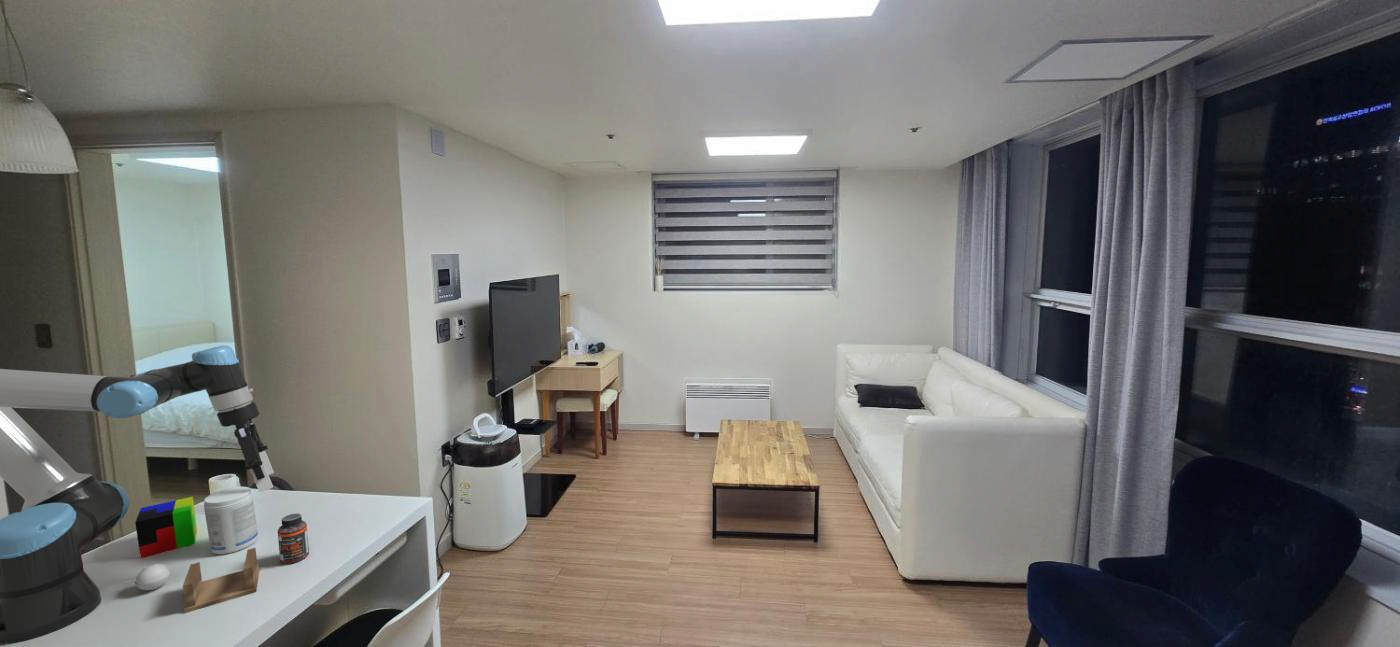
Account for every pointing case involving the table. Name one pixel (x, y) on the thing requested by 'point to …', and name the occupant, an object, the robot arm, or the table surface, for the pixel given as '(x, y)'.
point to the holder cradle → (220, 584)
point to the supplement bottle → (293, 539)
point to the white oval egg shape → (152, 577)
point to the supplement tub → (230, 520)
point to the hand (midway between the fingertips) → (267, 482)
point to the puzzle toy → (166, 527)
